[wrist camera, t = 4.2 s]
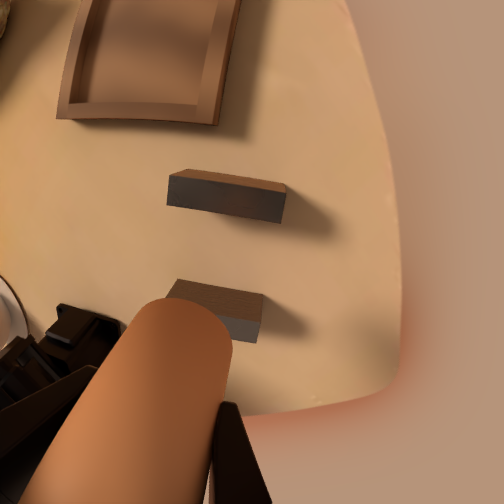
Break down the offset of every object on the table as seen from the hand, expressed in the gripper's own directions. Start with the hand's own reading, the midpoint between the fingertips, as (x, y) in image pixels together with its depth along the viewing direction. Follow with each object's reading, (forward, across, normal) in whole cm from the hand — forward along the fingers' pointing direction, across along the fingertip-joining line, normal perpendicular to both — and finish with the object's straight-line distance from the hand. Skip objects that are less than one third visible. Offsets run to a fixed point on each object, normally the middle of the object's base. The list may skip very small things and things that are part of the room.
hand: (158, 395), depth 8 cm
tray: (+13, +7, -13) cm, 20 cm away
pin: (+2, 0, 0) cm, 2 cm away
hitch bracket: (+13, 0, 0) cm, 13 cm away
